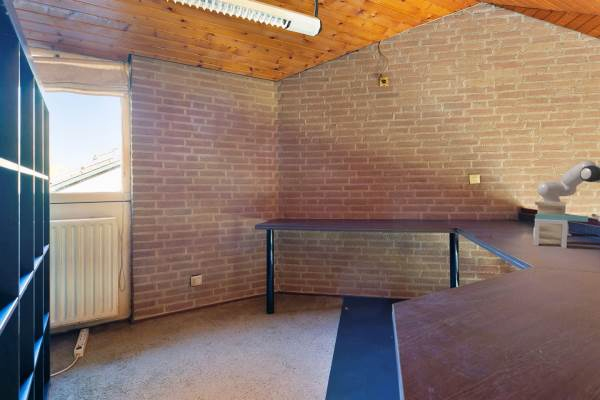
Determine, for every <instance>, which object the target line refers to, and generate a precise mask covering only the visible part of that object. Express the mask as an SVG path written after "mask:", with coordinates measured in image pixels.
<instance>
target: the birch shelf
mask: <svg viewBox="0 0 600 400" xmlns="http://www.w3.org/2000/svg"><path fill="white" fill-rule="evenodd" d="M534 205H535V206H537V211H536V212H537V213H536V214H550V215H562V206H566V205H567V202H565V201H561V202H545V201H541V200H540V201H538V200H537V201H534ZM561 225H562V224H548V223H539V244H540V243H542V244H552V243H553V244H554V245H561Z"/></svg>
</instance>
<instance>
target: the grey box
mask: <svg viewBox="0 0 600 400" xmlns="http://www.w3.org/2000/svg"><path fill="white" fill-rule="evenodd" d="M568 222H569V221H562V220H542V219H535V218H534V227H535V232H534V231H533V235H534V237H533V244H534V246H539V244H540V242H539V223H548V224H562V226H561V244H560V247H561V248H562V249H567V242H568V236H567V224H568V225H569V223H568Z"/></svg>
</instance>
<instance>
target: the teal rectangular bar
mask: <svg viewBox="0 0 600 400" xmlns="http://www.w3.org/2000/svg"><path fill="white" fill-rule="evenodd" d="M534 216H535V218H534V220H535V219H542V220H562V221H568V222H582V223H583V222H584V223H585V222H587V223H588V222H589V216H588V215H571V214H567V215H566V214H565V215H550V214H537V213H535V215H534Z"/></svg>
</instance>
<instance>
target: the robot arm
mask: <svg viewBox="0 0 600 400" xmlns="http://www.w3.org/2000/svg"><path fill="white" fill-rule="evenodd" d="M583 182H587V183H596V184H597V183H599V184H600V164H596V163H595V162H594V161H592V160H583V161H581V162H579V163H578V164H576V165H574V166H573V167H571V168H570V169H568V170H567V171H565V172H564V173H563V174H562V175H561V179H560V180H557V181H556V180H555V181H544V182H539V183H538V185H537V187H536V192H537V193H538V195H540V196H541V198H542V199H543V202H562V200H561V199H560V197H569V196H572V195H574V194H575V193H576V192H577V187H578V186H579V185H581V184H582V183H583ZM562 215H566V206H562ZM590 217H593V218H594V219H596V220H597V222H599V223H600V215H599V214H595V213H592V214H591V216H590ZM561 226H562V225H561ZM571 236H572V234H571V233H569V223H568V224H567V237H571Z"/></svg>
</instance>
